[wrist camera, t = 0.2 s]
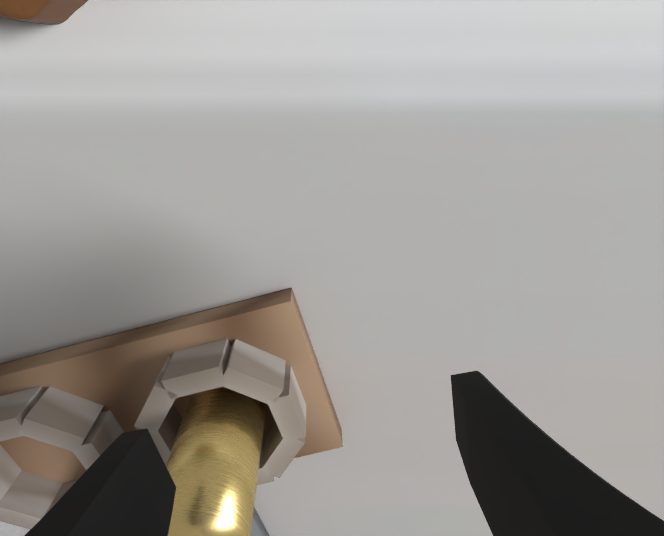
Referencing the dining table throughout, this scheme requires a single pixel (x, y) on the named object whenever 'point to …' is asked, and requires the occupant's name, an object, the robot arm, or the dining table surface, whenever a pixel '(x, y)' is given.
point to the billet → (216, 464)
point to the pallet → (141, 362)
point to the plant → (40, 10)
